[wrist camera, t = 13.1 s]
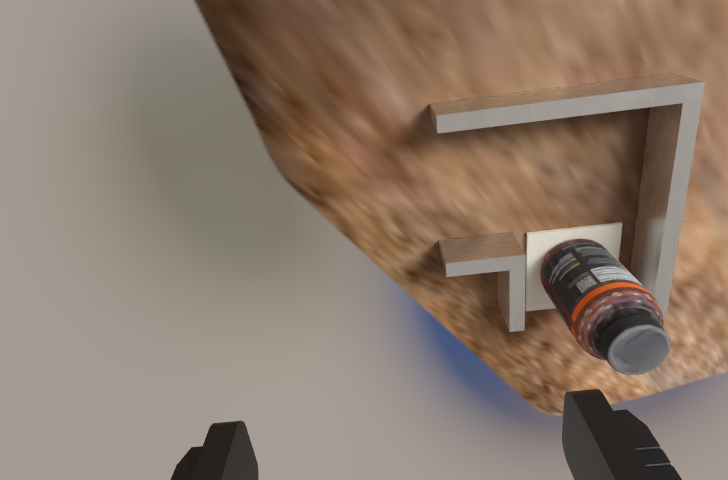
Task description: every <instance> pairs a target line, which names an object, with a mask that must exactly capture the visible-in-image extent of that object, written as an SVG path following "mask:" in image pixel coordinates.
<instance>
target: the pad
mask: <svg viewBox="0 0 728 480" xmlns="http://www.w3.org/2000/svg"><path fill="white" fill-rule="evenodd" d="M622 225H623V224H622V223H621V222H617V223H608V224H599V225H590V226H581V227H572V228H563V229H554V230H546V231H537V232H528V233H526V292H525V310H526V311H534V310H543V309H553V308H556V307H555V305H554V304H553V302H552V301H551V299H550V298H549V296H548V294H547V293H546V291H545V289H544V287H543V285H542V283H541V279H540V271H541V266H542V263H543V261H544V259H545V258H546V256H547V255H548V254H549V253H550V252H551V251H552V250H553V249H554V248H555V247H557V246H558V245H560V244H562V243H564V242H566V241H569V240H573V239H589V240H593V241H596V242H598V243H600V244H601V245H602V246H603V247H605V248H606V249H607V250H608V251H609V252H610V253H611V254H612V255H613V256H614V257H615V258H616V259H617V260H618V261H619V252H620V243H621V234H622Z"/></svg>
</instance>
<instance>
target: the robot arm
mask: <svg viewBox="0 0 728 480" xmlns="http://www.w3.org/2000/svg"><path fill="white" fill-rule="evenodd" d="M562 443H563V449H564V453H565V457H566V460H567V463H568V465H569V468H570V470H571V472H572V475H573V477H574V479H575V480H682V479H681V478H680V476H679V475H678V473H677V471H676V470H675V468H674V467H673V466H671V464H670V461H669V459H668V458H667V456H666V454H665V453H664V451H663V450H662V449H660V446H659V444H658V442H657V441H656V439H655V438H654V436H653V435H652V433H651V431H650V430H649V428H648V427H647V426H646V425H645V424H644V423H643V422H641V421H640V420H639V419H638V418H637V417H635V416H634V415H632V414H631V413H630V412H629V411H628V410H616V411H613V410H612V408H611V406H610V405H609V403H608V401H607V400H606V398H605V396H604V395H603V393H602V392H601V391H600V390H599V389H593V390H582V391H571V392H566V394H565V398H564V414H563V430H562ZM171 480H258V465H257V461H256V457H255V454H254V451H253V448H252V444H251V441H250V438H249V435H248V432H247V428H246V426H245V423H244V422H243V421H235V422H223V423H213V424H212V425H211V427H210V428H209V431H208V433H207V436H206V439H205V442H204V444H203V446H202V447H192V448H191V449H190V450H189V451H188V452H187V454H186V455H185V456H184V457H183V458H182V460H181V461H180V462H179V463H178V464H177V466H176V468H175V470H174V473H173V475H172V478H171Z"/></svg>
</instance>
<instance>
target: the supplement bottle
mask: <svg viewBox="0 0 728 480" xmlns="http://www.w3.org/2000/svg"><path fill="white" fill-rule="evenodd" d="M540 279H541V283H542V285H543V287H544V289H545V291H546V293H547V294H548V296H549V298H550V299H551V301H552V302H553V304H554V305H555V307H556V309H557V310H558V312H559V314H560V315H561V317H562V318H563V320H564V321H565V323H566V325H567V326H568V328H569V330H570V331H571V333H572V335H573V336H574V337H575V339H576V340H577V342H578V343H579V345H580V346H581V347H582V348H583V349H584V350H585V351H586V352H587V353H589V354H590V355H592V356H593V357H596V358H598V359H602V360H607V361H608V363H609V364H610V365H611V366H612V368H613V369H615V370H616V371H618V372H620V373H623V374H629V375H637V374H643V373H646V372H649V371H651V370H653V369H654V368H656V367H658V366H659V365H660V364H661V363H662V362H663V361H664V360H665V359H666V357H667V356H668V354H669V352H670V346H671V344H670V338H669V336H668V334H667V333H666V332H665V330H664V329H663V322H664V321H663V320H664V318H663V312H662V309H661V307H660V305H659V303H658V302H657V301H656V299H655V298H654V297H653V296H652V295H651V294H650V293H649V292H648V291H647V289H646V288H645V287H644V286H643V285H642V284H641V283H640V282H639V281H638V280H637V279H636V278H635V277H634V276H633V275H632V274H631V273H630V272H629V271H628V270H627V269H626V268H625V267H624V266H623V265H622V264H621V263H620V262H619V261H618V260H617V259H616V258H615V257H614V256H613V255H612V254H611V253H610V252H609V251H608V250H607V249H606V248H605V247H603V246H602V245H601V244H600V243H598V242H596V241H593V240H589V239H573V240H569V241H566V242H564V243H562V244H560V245H558V246H557V247H555V248H554V249H553V250H552V251H551V252H550V253H549V254H548V255H547V256H546V258H545V259H544V261H543V263H542V266H541V271H540Z"/></svg>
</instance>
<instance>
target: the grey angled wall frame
mask: <svg viewBox="0 0 728 480" xmlns="http://www.w3.org/2000/svg"><path fill="white" fill-rule="evenodd" d="M704 86H705V82H704V81H700V80H697V79H693V78H689V77H685V76H681V75H677V74H673V73H667V74H659V75H652V76H644V77H636V78H628V79H620V80H613V81H605V82H597V83H589V84H581V85H573V86H566V87H558V88H550V89H542V90H534V91H527V92H519V93H511V94H503V95H495V96H487V97H480V98H472V99H464V100H456V101H448V102H440V103H433V104H429V105H430V119H431V122H432V124H433V126H434V128H435V130H436V132H437V134H438V133H446V132H454V131H462V130H470V129H478V128H486V127H494V126H503V125H511V124H519V123H527V122H535V121H543V120H551V119H559V118H567V117H575V116H583V115H591V114H599V113H607V112H615V111H623V110H631V109H639V108H647V107H650V110H649V118H648V126H647V134H646V142H645V151H644V159H643V167H642V175H641V184H640V192H639V200H638V208H637V216H636V225H635V233H634V241H633V249H632V258H631V266H630V273H631V274H632V275H633V276H634V277H635V278H636V279H637V280H638V281H639V282H640V283H641V284H642V285H643V286H644V287H645V288H646V289H647V291H648V292H649V293H650V294H651V295H652V296H653V297H654V298H655V299H656V301H657V302H658V303H659V305H660V307H661V309H662V312H663V317H664V316H666V315H667V309H668V303H669V297H670V291H671V285H672V279H673V273H674V267H675V261H676V255H677V249H678V243H679V237H680V231H681V225H682V219H683V213H684V207H685V201H686V195H687V188H688V182H689V176H690V170H691V164H692V158H693V152H694V146H695V140H696V134H697V128H698V122H699V116H700V110H701V104H702V98H703V92H704ZM439 250H440V256H441V259H442V263H443V266H444V270H445V273H446V277H451V276H461V275H470V274H479V273H489V272H498V306H499V308H500V311H501V313H502V315H503V318H504V320H505V322H506V325H507V327H508V329H509V332H514V331H524V329H525V269H526V254H525V253H524V251H523V249H522V248H521V246H520V245H519V243H518V241H517V240H516V238H515V236H514V235H513V233H512V232H508V233H499V234H490V235H481V236H472V237H463V238H454V239H445V240H439Z"/></svg>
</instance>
